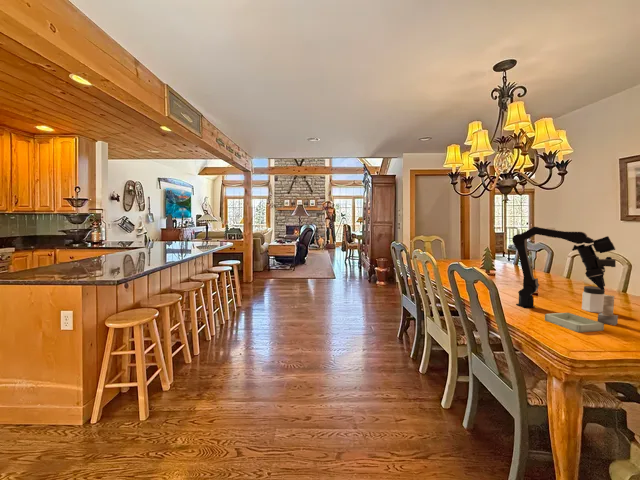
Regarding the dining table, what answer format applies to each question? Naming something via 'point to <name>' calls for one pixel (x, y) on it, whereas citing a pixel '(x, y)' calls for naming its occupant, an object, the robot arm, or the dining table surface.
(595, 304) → the jar
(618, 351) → the dining table surface
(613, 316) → the square pillar on base
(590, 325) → the tray
